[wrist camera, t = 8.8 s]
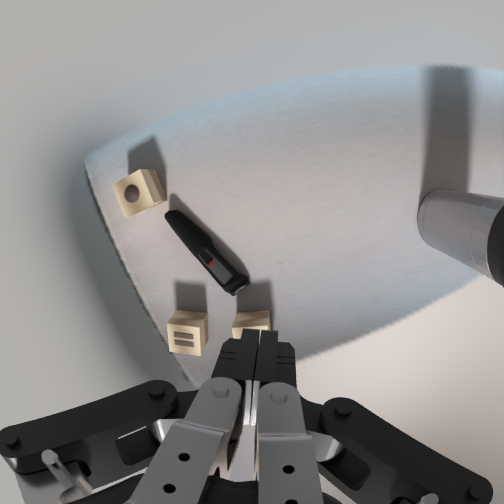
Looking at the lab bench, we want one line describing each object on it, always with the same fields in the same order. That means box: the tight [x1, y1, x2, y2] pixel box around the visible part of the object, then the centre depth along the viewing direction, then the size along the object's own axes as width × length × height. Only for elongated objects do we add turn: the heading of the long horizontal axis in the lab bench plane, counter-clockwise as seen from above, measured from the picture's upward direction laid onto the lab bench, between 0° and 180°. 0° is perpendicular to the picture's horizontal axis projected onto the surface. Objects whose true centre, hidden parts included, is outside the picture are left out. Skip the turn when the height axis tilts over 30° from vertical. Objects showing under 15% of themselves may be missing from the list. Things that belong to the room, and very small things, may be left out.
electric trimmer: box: [164, 210, 250, 296], centre depth 41 cm, size 4×16×3 cm, turn 42°
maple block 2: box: [167, 310, 208, 356], centre depth 43 cm, size 5×5×5 cm
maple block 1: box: [112, 169, 167, 218], centre depth 38 cm, size 5×5×5 cm
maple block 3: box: [232, 310, 271, 342], centre depth 42 cm, size 5×5×5 cm
